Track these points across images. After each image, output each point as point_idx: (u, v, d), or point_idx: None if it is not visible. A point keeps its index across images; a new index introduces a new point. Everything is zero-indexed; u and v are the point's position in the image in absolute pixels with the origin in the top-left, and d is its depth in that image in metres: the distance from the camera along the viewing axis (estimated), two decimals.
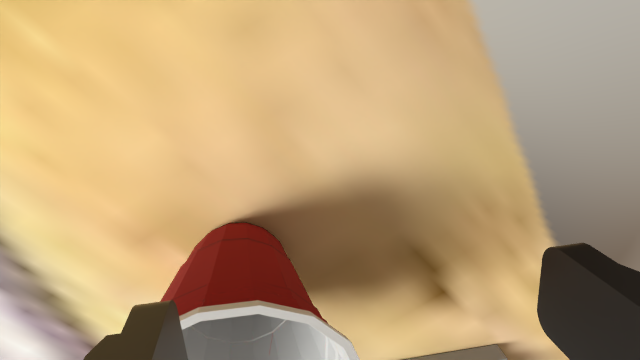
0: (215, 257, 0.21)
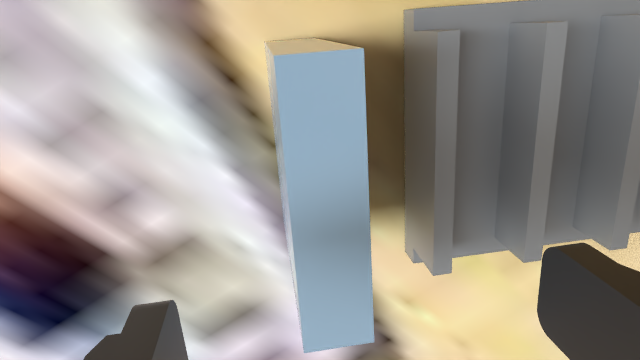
0: None
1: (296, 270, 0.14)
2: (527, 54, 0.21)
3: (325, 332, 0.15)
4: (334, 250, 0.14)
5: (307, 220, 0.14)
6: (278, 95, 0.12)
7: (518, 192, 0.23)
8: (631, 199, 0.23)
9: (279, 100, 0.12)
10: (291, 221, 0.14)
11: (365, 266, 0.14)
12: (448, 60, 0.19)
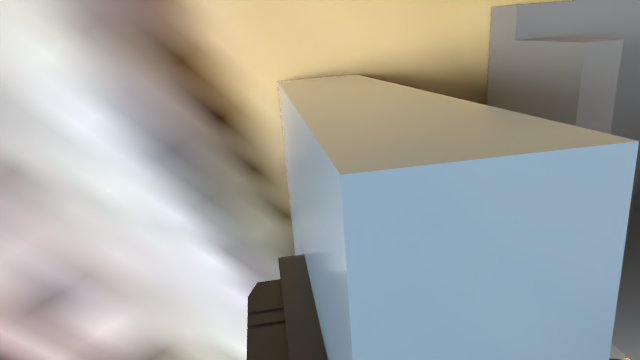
0: None
1: None
2: None
3: None
4: None
5: None
6: (350, 296, 0.04)
7: None
8: None
9: (354, 313, 0.04)
10: None
11: None
12: (598, 92, 0.11)
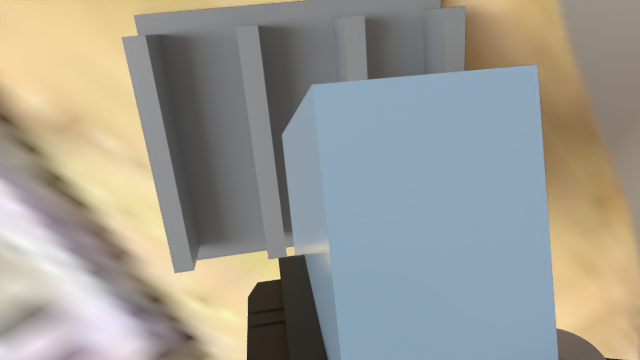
0: None
1: None
2: None
3: None
4: None
5: None
6: (324, 187, 0.05)
7: None
8: None
9: (327, 200, 0.05)
10: None
11: None
12: (139, 64, 0.20)
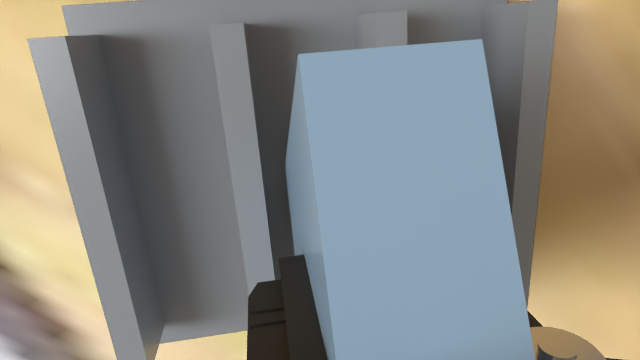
0: None
1: None
2: None
3: None
4: None
5: None
6: (310, 136, 0.06)
7: None
8: None
9: (312, 146, 0.06)
10: None
11: None
12: (58, 81, 0.13)
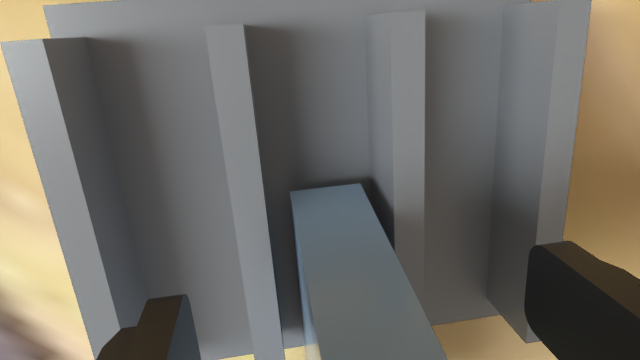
0: None
1: None
2: None
3: None
4: None
5: None
6: None
7: None
8: (416, 293, 0.15)
9: None
10: None
11: None
12: (35, 90, 0.11)
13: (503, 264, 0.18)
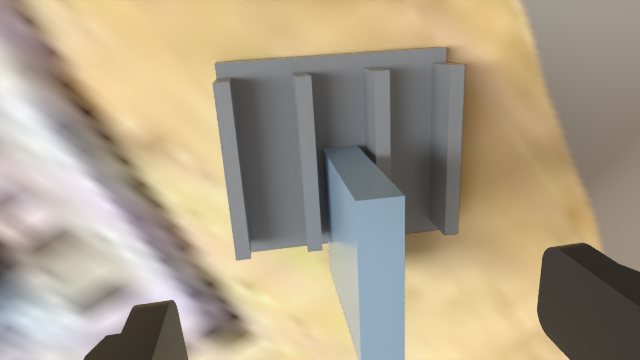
0: None
1: (359, 317, 0.24)
2: (295, 97, 0.29)
3: (375, 355, 0.24)
4: (383, 306, 0.24)
5: (368, 289, 0.23)
6: (356, 221, 0.22)
7: (303, 198, 0.31)
8: None
9: (357, 224, 0.22)
10: (359, 289, 0.23)
11: (401, 315, 0.24)
12: (223, 102, 0.27)
13: (435, 197, 0.33)
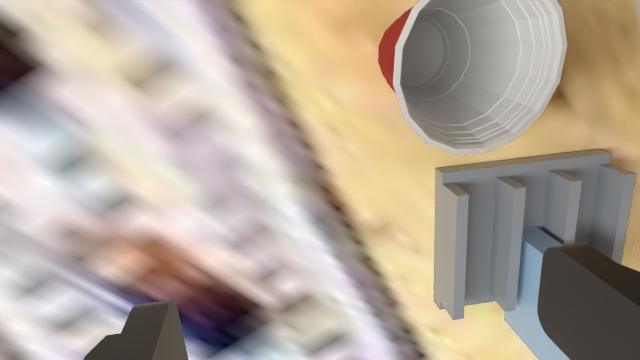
0: None
1: None
2: (505, 199, 0.38)
3: None
4: None
5: None
6: None
7: (502, 271, 0.40)
8: None
9: None
10: None
11: None
12: (462, 209, 0.36)
13: None
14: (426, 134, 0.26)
